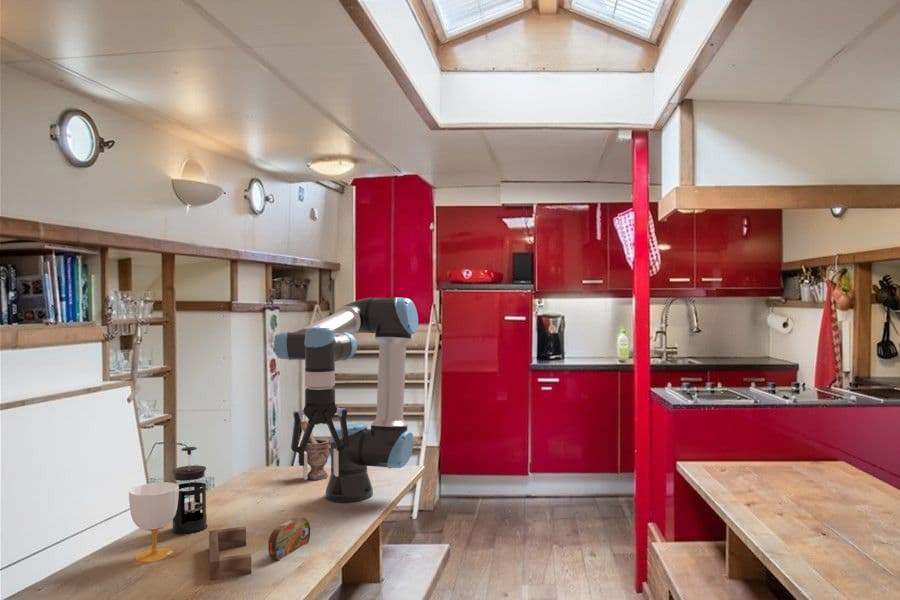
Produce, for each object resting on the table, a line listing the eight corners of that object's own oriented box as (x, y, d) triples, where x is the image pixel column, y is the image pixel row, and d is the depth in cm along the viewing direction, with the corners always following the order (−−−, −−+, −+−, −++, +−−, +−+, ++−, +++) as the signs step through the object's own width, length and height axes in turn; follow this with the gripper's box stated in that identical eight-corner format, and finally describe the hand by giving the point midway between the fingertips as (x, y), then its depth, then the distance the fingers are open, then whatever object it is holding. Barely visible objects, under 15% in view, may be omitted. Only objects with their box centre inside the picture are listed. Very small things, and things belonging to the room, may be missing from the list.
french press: (183, 522, 195) (183, 443, 195) (214, 523, 194) (213, 443, 194) (161, 536, 183) (161, 452, 183) (194, 537, 182) (193, 453, 182)
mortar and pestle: (293, 479, 240) (292, 423, 239) (303, 473, 248) (303, 419, 248) (323, 481, 237) (322, 424, 237) (332, 475, 245) (332, 420, 245)
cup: (147, 568, 161) (146, 498, 161) (119, 558, 167) (118, 490, 167) (189, 552, 171) (188, 486, 171) (161, 544, 177) (160, 479, 177)
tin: (276, 567, 161) (276, 532, 161) (265, 565, 163) (265, 531, 163) (311, 545, 175) (311, 513, 175) (301, 544, 177) (301, 512, 177)
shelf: (245, 545, 176) (245, 526, 176) (251, 578, 155) (251, 556, 155) (209, 550, 173) (209, 530, 173) (210, 584, 152) (210, 562, 152)
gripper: (355, 383, 179) (356, 469, 179) (278, 387, 172) (279, 476, 172) (361, 387, 172) (362, 476, 172) (281, 391, 165) (282, 484, 165)
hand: (320, 476), depth 172 cm, fingers open, 7 cm apart
